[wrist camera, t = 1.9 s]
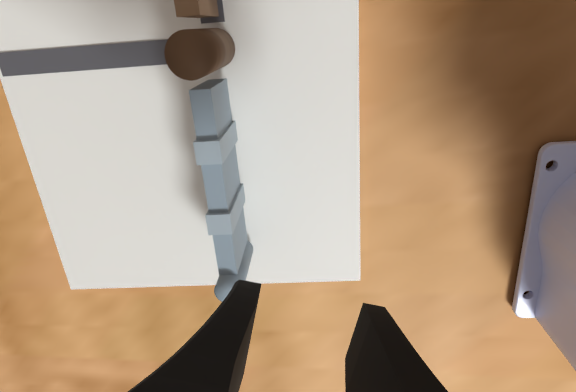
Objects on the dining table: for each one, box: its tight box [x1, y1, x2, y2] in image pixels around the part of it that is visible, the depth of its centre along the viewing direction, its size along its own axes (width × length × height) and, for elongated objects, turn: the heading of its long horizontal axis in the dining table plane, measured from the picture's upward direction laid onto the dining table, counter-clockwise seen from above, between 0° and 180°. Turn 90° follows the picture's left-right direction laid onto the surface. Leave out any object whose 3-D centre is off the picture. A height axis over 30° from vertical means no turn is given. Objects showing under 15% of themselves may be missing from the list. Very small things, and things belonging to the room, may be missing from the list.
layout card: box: [0, 0, 360, 289], centre depth 18 cm, size 21×16×1 cm
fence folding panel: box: [189, 78, 253, 302], centre depth 18 cm, size 9×1×4 cm, turn 4°
